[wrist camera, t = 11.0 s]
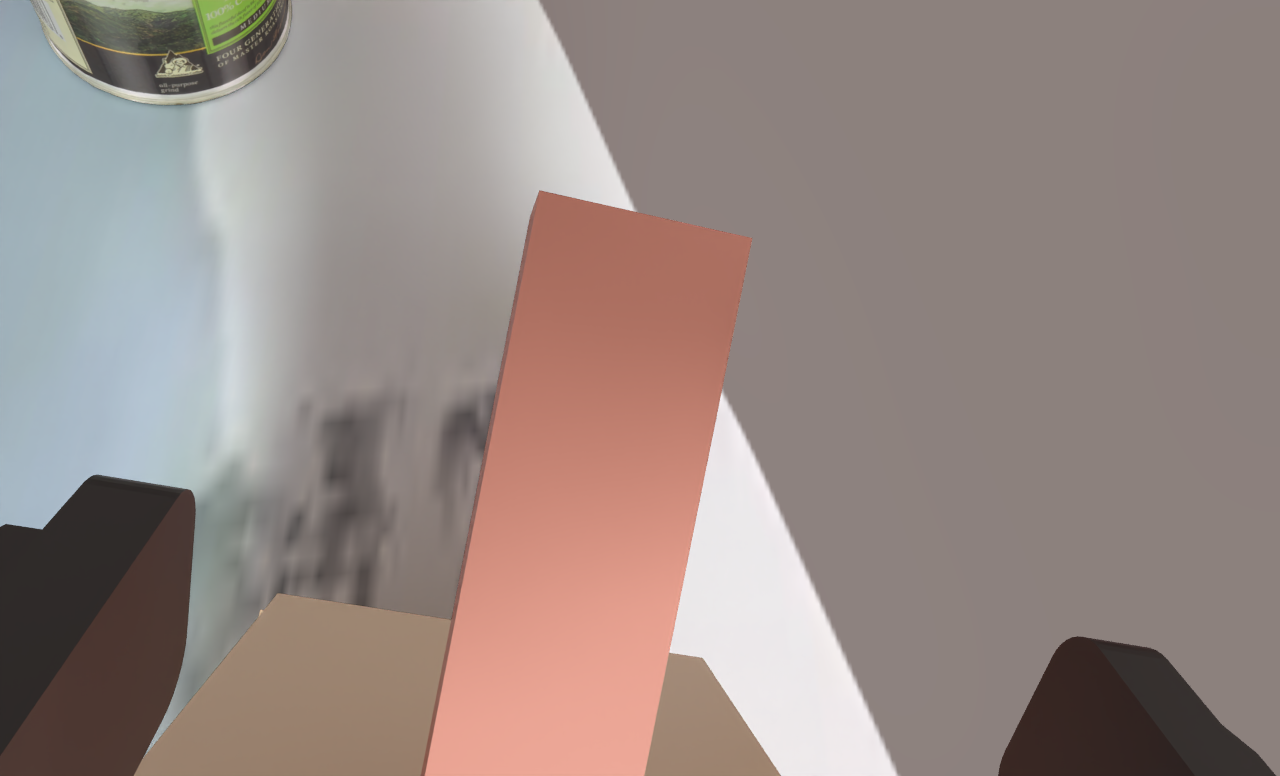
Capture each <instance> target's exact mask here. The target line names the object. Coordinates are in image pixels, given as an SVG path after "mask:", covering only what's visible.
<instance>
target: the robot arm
mask: <svg viewBox="0 0 1280 776" xmlns="http://www.w3.org/2000/svg"><path fill="white" fill-rule="evenodd" d="M195 511H196V509H195V498H194V495H193V493H192V491H191V490H188V489H182V488H176V487H170V486H164V485H158V484H151V483H145V482H139V481H133V480H127V479H121V478H114V477H108V476H102V475H93V476H91V477H90V478H88V479H87V480H86V481H85V482H84V483H83V484H82V485H81V486H80V487H79V489H78V490H77V491H76V492H75V493H74V494H73V495H72V496H71V498H70V499H69V500H68V501H67V502H66V503H65V504H64V506H63V507H62V508H61V509H60V510H59V511H58V512H57V514H56V515H55V516H54V517H53V518H52V519H51V520H50V522H49V523H48V524H47V525H46V526H45V527H44V528H43V530H41V529H35V528H28V527H22V526H15V525H8V524H5V525H3V526H1V527H0V776H134V774H135V772H136V770H137V769H138V767H139V765H140V763H141V761H142V759H143V757H144V755H145V753H146V751H147V749H148V747H149V745H150V743H151V741H152V739H153V737H154V735H155V733H156V731H157V729H158V727H159V726H160V724H161V722H162V720H163V718H164V716H165V713H166V711H167V709H168V707H169V704H170V702H171V699H172V696H173V694H174V691H175V688H176V684H177V681H178V678H179V674H180V670H181V666H182V662H183V657H184V652H185V646H186V638H187V626H188V612H189V598H190V584H191V570H192V556H193V543H194V529H195ZM998 776H1276V775H1275V774H1274V773H1273V772H1272V771H1271V769H1270V768H1269V767H1268V766H1267V765H1266V763H1265V762H1264V761H1263V760H1262V759H1261V757H1260V756H1259V755H1258V754H1257V753H1256V752H1255V751H1253V750H1252V749H1251V748H1250V747H1249V746H1247V745H1246V744H1245V743H1244V742H1242V741H1241V740H1240V739H1239V738H1237V737H1236V736H1235V735H1234V734H1232V733H1231V732H1230V731H1229V730H1228V729H1226V728H1225V727H1224V726H1223V725H1222V724H1221V723H1220V722H1219V721H1218V720H1217V718H1216V717H1215V716H1214V715H1213V714H1212V712H1211V711H1210V710H1209V709H1208V708H1207V707H1206V705H1205V704H1204V703H1203V702H1202V700H1201V699H1200V698H1199V697H1198V696H1197V695H1196V693H1195V692H1194V691H1193V690H1192V689H1191V687H1190V686H1189V685H1188V684H1187V682H1186V681H1185V680H1184V679H1183V678H1182V677H1181V675H1180V674H1179V673H1178V672H1177V671H1176V669H1175V668H1174V667H1173V666H1172V665H1171V663H1170V662H1169V661H1168V660H1167V659H1166V658H1165V657H1164V656H1163V655H1162V654H1161V653H1159V652H1158V651H1156V650H1154V649H1151V648H1147V647H1140V646H1134V645H1129V644H1123V643H1116V642H1110V641H1104V640H1098V639H1092V638H1086V637H1072V638H1070V639H1068V640H1066V641H1065V642H1063V643H1062V644H1061V645H1060V646H1059V647H1058V649H1057V650H1056V651H1055V653H1054V655H1053V657H1052V658H1051V661H1050V663H1049V664H1048V667H1047V668H1046V671H1045V672H1044V674H1043V676H1042V679H1041V681H1040V682H1039V685H1038V686H1037V688H1036V690H1035V692H1034V695H1033V696H1032V699H1031V700H1030V703H1029V704H1028V706H1027V708H1026V710H1025V712H1024V715H1023V716H1022V718H1021V720H1020V722H1019V724H1018V726H1017V728H1016V730H1015V733H1014V735H1013V736H1012V739H1011V740H1010V742H1009V744H1008V746H1007V748H1006V750H1005V753H1004V755H1003V757H1002V761H1001V764H1000V768H999V774H998Z"/></svg>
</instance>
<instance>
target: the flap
mask: <svg viewBox="0 0 1280 776" xmlns="http://www.w3.org/2000/svg"><path fill="white" fill-rule="evenodd" d="M751 242H752V238H749V237H745V236H740V235H736V234H731V233H727V232H723V231H718V230H714V229H709V228H705V227H700V226H695V225H691V224H687V223H682V222H678V221H673V220H669V219H664V218H660V217H656V216H651V215H646V214H642V213H638V212H633V211H629V210H624V209H620V208H615V207H611V206H606V205H602V204H598V203H593V202H589V201H584V200H580V199H575V198H571V197H566V196H562V195H557V194H553V193H548V192H544V191H539V193H538V196H537V199H536V202H535V204H534V207H533V210H532V213H531V216H530V220H529V225H528V230H527V235H526V240H525V246H524V251H523V256H522V261H521V266H520V271H519V276H518V281H517V286H516V292H515V297H514V302H513V307H512V312H511V317H510V322H509V327H508V332H507V338H506V343H505V348H504V353H503V358H502V363H501V368H500V373H499V378H498V383H497V389H496V394H495V399H494V404H493V409H492V414H491V419H490V424H489V429H488V435H487V440H486V445H485V450H484V455H483V460H482V465H481V470H480V475H479V481H478V486H477V491H476V496H475V501H474V506H473V511H472V516H471V521H470V527H469V532H468V537H467V542H466V547H465V552H464V557H463V562H462V567H461V572H460V578H459V583H458V588H457V593H456V598H455V603H454V608H453V613H452V618H451V620H450V619H444V618H437V617H431V616H424V615H418V614H411V613H405V612H398V611H391V610H385V609H378V608H372V607H365V606H359V605H352V604H346V603H339V602H333V601H326V600H319V599H313V598H306V597H300V596H293V595H287V594H280V593H278V594H277V595H276V596H275V597H274V598H273V600H272V601H271V602H270V603H269V605H268V606H267V607H266V608H265V609H264V611H263V612H262V613H261V614H260V616H259V617H258V618H257V619H256V621H255V622H254V623H253V624H252V625H251V627H250V628H249V629H248V630H247V632H246V633H245V634H244V635H243V636H242V638H241V639H240V640H239V641H238V643H237V644H236V645H235V646H234V647H233V649H232V650H231V651H230V652H229V654H228V655H227V656H226V657H225V658H224V660H223V661H222V662H221V663H220V665H219V666H218V667H217V668H216V670H215V671H214V672H213V673H212V674H211V676H210V677H209V678H208V679H207V681H206V682H205V683H204V684H203V685H202V687H201V688H200V689H199V690H198V692H197V693H196V694H195V695H194V696H193V698H192V699H191V700H190V701H189V703H188V704H187V705H186V706H185V708H184V709H183V710H182V711H181V712H180V714H179V715H178V716H177V717H176V719H175V720H174V721H173V722H172V723H171V725H170V726H169V727H168V728H167V730H166V731H165V732H164V733H163V734H162V736H161V737H160V738H159V739H158V741H157V742H156V743H155V744H154V745H153V747H152V748H151V749H150V750H149V752H148V753H147V754H146V755H145V757H144V758H143V759H142V761H141V763H140V765H139V767H138V769H137V770H136V772H135V774H134V776H781V775H780V774H779V772H778V771H777V769H776V768H775V766H774V765H773V763H772V762H771V760H770V759H769V757H768V756H767V754H766V753H765V751H764V750H763V748H762V747H761V745H760V744H759V742H758V741H757V739H756V738H755V736H754V735H753V733H752V732H751V730H750V729H749V727H748V726H747V724H746V723H745V721H744V720H743V718H742V717H741V715H740V714H739V712H738V711H737V709H736V708H735V706H734V705H733V703H732V702H731V700H730V699H729V697H728V696H727V694H726V693H725V691H724V690H723V688H722V687H721V685H720V684H719V682H718V681H717V679H716V678H715V676H714V674H713V673H712V671H711V670H710V668H709V667H708V665H707V664H706V662H705V661H704V659H703V658H699V657H693V656H686V655H680V654H673V653H669V650H670V645H671V640H672V635H673V630H674V625H675V620H676V615H677V610H678V605H679V600H680V595H681V591H682V586H683V581H684V576H685V571H686V566H687V561H688V556H689V551H690V546H691V541H692V536H693V531H694V526H695V521H696V516H697V511H698V506H699V501H700V496H701V491H702V486H703V481H704V476H705V471H706V466H707V461H708V456H709V451H710V446H711V441H712V436H713V431H714V426H715V421H716V416H717V411H718V406H719V401H720V396H721V391H722V386H723V381H724V376H725V371H726V366H727V361H728V356H729V352H730V346H731V341H732V337H733V332H734V327H735V322H736V316H737V311H738V307H739V302H740V297H741V292H742V287H743V282H744V277H745V272H746V267H747V262H748V257H749V252H750V247H751Z"/></svg>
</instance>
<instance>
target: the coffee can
mask: <svg viewBox="0 0 1280 776" xmlns="http://www.w3.org/2000/svg"><path fill="white" fill-rule="evenodd" d="M30 1H31V3H32V5H33V7H34V9H35V11H36V13H37V15H38V17H39V19H40V22H41V25H42V29H43V32H44V34H45V36H46V38H47V40H48V42H49V44H50V46H51V48H52V49H53V50H54V52H55V53H56V54H57V56H58V57H59V58H60V59H61V60H62V62H63V63H64V64H65V65H66V66H67V67H68V68H69V69H70V70H72V71H73V72H74V73H75V74H76V75H78V76H79V77H80V78H82V79H83V80H85V81H86V82H88V83H89V84H91V85H92V86H94V87H96V88H98V89H100V90H103V91H106V92H108V93H110V94H113V95H115V96H118V97H121V98H124V99H128V100H132V101H135V102H141V103H147V104H158V105H183V104H194V103H200V102H204V101H208V100H212V99H216V98H219V97H222V96H225V95H227V94H229V93H232V92H234V91H236V90H238V89H240V88H242V87H244V86H245V85H247V84H249V83H250V82H252V81H253V80H255V79H256V78H257V77H258V76H260V75H261V74H262V73H263V72H264V71H265V70H266V69H268V68H269V67H270V66H271V64H272V63H273V62H274V61H275V59H276V58H277V56H278V55H279V53H280V51H281V50H282V48H283V46H284V44H285V42H286V40H287V37H288V34H289V30H290V25H291V16H292V7H291V0H30Z"/></svg>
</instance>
